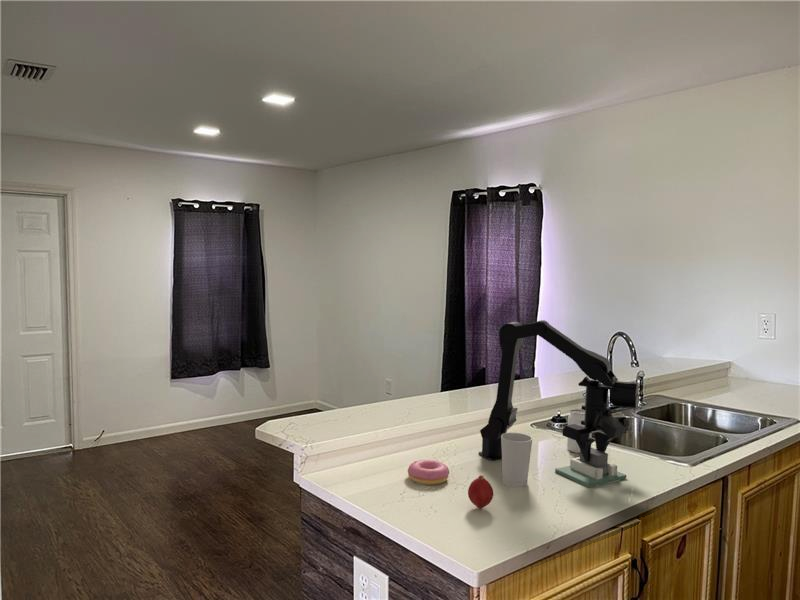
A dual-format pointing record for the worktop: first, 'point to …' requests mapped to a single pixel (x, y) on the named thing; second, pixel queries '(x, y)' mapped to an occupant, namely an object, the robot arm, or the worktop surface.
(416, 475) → the doughnut
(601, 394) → the robot arm
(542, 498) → the worktop surface
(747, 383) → the worktop surface
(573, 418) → the can
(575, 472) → the board
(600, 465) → the plug
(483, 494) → the onion
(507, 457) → the cup
